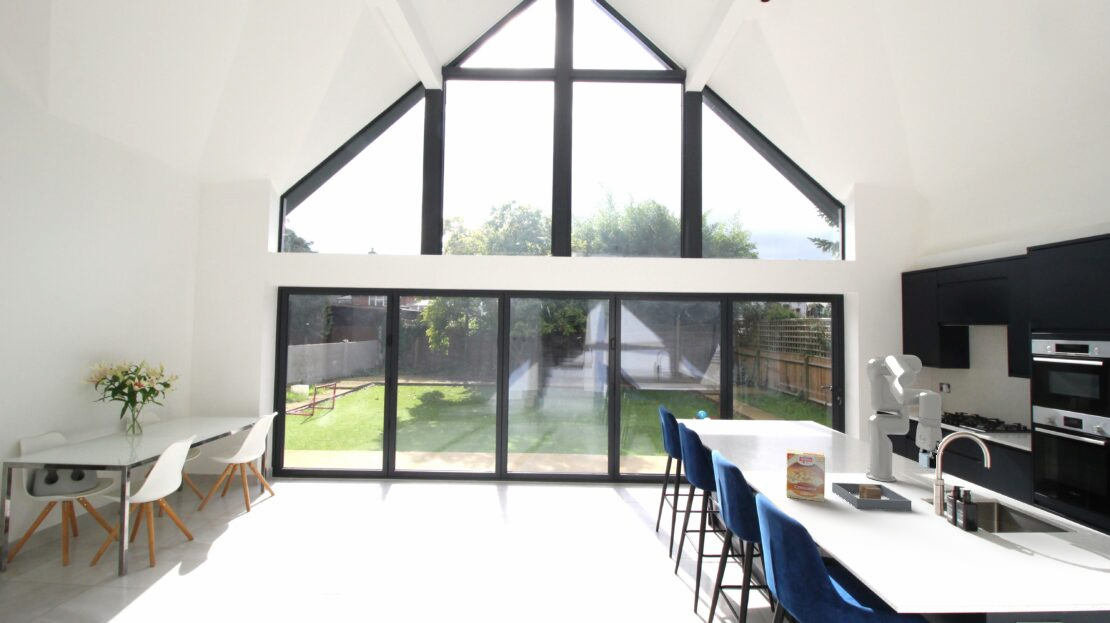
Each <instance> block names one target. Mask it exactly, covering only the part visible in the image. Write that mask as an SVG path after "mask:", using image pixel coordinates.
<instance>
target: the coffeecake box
mask: <svg viewBox="0 0 1110 623" xmlns="http://www.w3.org/2000/svg"><path fill="white" fill-rule="evenodd" d="M785 467H786V472H785V477H786V478H785V479H786V480H785V495H786V498H790V497H791V499H797V498H798V500H805V499H806V500H807V501H812V500H813V502H820V501H821V503H824V502H825V485H826V484H825V483H826V479H825V478H826V476H825V475H826V456H825V454H824V453H822V452H812V451H803V450H793V449H786V464H785ZM806 500H805V501H806Z"/></svg>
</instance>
